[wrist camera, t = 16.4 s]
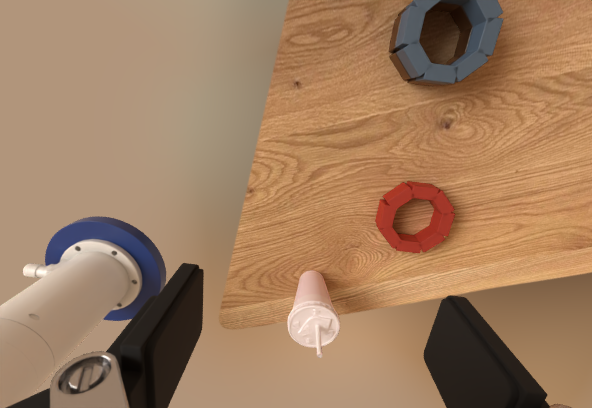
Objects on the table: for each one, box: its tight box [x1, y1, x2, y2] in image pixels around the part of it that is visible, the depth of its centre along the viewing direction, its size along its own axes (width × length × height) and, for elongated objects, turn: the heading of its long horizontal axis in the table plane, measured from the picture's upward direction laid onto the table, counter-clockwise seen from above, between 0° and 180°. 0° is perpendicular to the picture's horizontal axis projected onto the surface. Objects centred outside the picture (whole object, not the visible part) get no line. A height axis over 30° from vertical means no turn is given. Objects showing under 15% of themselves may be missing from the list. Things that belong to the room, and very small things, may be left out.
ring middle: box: [395, 0, 503, 85], centre depth 29 cm, size 9×9×2 cm
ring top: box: [375, 181, 455, 253], centre depth 39 cm, size 9×9×2 cm
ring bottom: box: [389, 2, 473, 86], centre depth 32 cm, size 9×9×2 cm
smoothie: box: [288, 271, 340, 358], centre depth 37 cm, size 6×6×14 cm
